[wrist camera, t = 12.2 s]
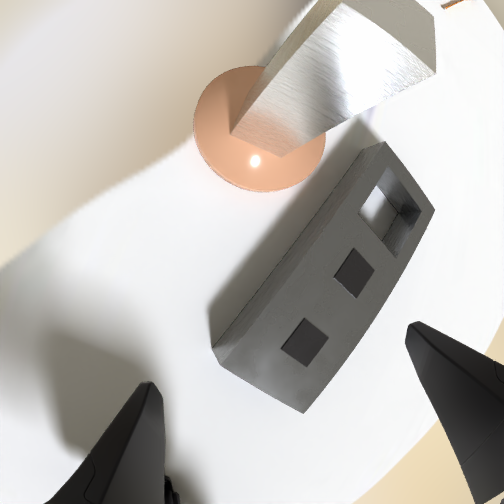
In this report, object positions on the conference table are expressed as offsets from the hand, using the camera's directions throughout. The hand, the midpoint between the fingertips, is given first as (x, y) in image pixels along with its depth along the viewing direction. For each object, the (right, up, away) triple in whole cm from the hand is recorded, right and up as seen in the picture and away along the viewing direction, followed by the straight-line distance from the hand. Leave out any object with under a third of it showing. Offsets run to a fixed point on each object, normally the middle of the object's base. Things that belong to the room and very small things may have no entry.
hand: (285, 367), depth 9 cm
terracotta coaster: (0, +13, +12) cm, 18 cm away
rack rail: (+5, +2, +14) cm, 15 cm away
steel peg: (0, +13, +11) cm, 17 cm away
